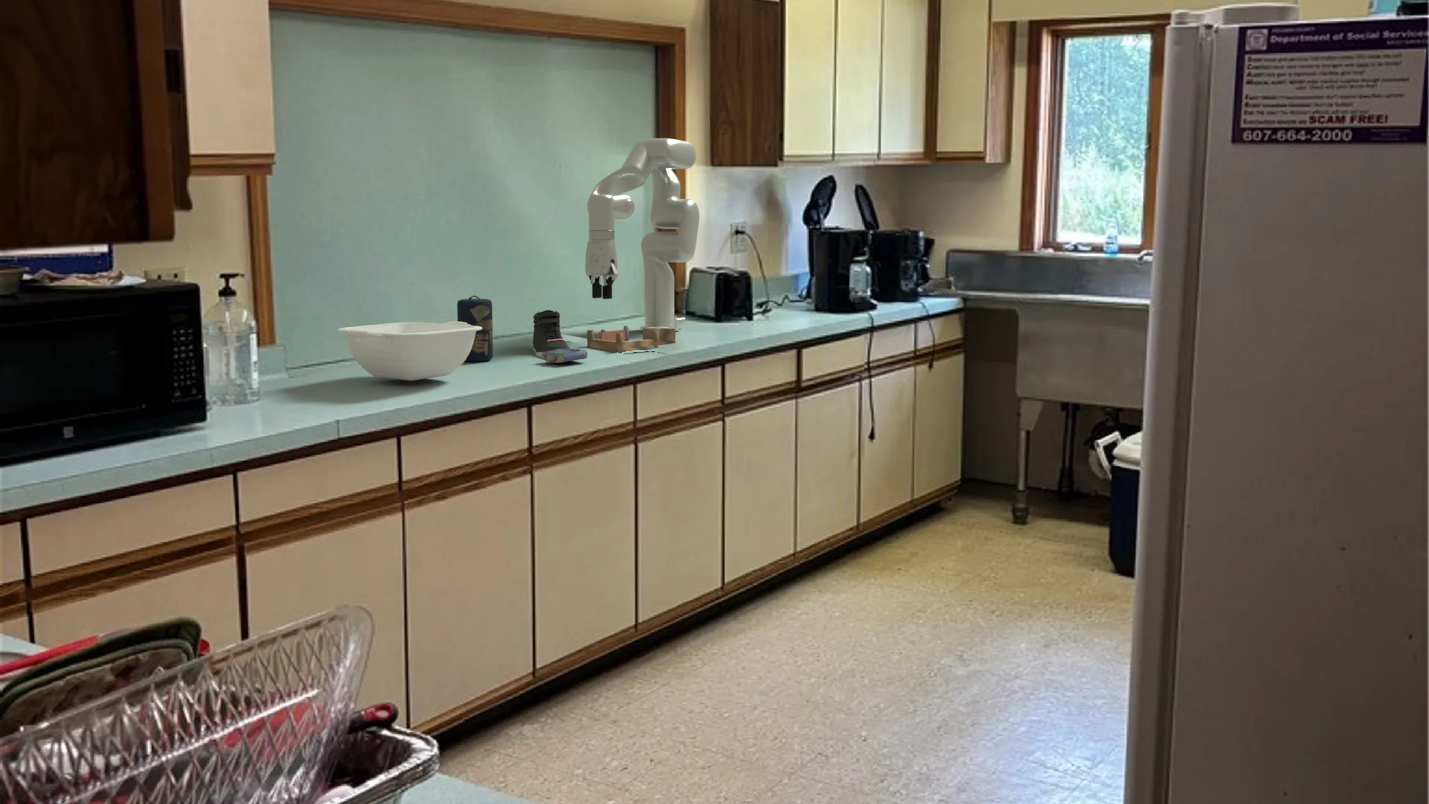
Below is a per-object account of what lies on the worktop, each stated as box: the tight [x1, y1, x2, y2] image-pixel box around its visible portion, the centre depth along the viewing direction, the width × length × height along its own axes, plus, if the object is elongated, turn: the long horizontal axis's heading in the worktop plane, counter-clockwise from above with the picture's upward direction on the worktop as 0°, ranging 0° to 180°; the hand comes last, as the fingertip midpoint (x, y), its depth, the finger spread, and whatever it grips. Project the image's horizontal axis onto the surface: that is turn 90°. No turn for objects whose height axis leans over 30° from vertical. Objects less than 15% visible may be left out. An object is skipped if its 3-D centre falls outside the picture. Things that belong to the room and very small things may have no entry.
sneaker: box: [532, 309, 570, 358], centre depth 391 cm, size 10×26×13 cm, turn 22°
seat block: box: [642, 327, 676, 346], centre depth 414 cm, size 7×7×6 cm
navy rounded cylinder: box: [456, 295, 494, 363], centre depth 376 cm, size 10×10×18 cm
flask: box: [541, 347, 589, 364], centre depth 374 cm, size 9×3×11 cm
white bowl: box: [337, 320, 482, 381], centre depth 342 cm, size 34×28×13 cm
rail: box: [598, 325, 630, 341], centre depth 410 cm, size 12×2×6 cm, turn 143°
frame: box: [586, 329, 660, 354], centre depth 405 cm, size 16×16×6 cm
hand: (602, 297), depth 408 cm, fingers open, 4 cm apart
